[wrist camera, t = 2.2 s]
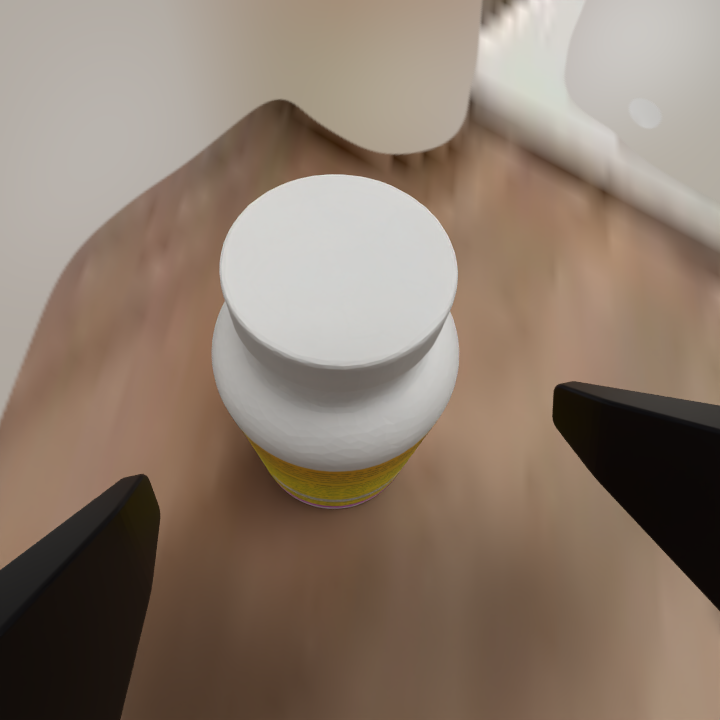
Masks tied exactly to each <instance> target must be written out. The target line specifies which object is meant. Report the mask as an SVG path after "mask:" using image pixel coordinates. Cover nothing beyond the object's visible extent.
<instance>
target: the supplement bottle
mask: <svg viewBox="0 0 720 720" xmlns="http://www.w3.org/2000/svg"><path fill="white" fill-rule="evenodd" d="M220 281H221V288H222V292H223V296H224V299H225V302H224V304H223V306H222V308H221V311H220V313H219V316H218V318H217V321H216V325H215V329H214V334H213V339H212V366H213V372H214V377H215V381H216V385H217V388H218V391H219V394H220V396H221V398H222V401H223V403H224V405H225V406H226V408H227V410H228V412H229V413H230V415H231V416H232V418H233V419H234V421H235V422H236V423H237V425H238V426H239V428H240V429H241V430H242V432H243V433H244V435H245V436H246V437H247V439H248V440H249V442H250V443H251V445H252V446H253V448H254V449H255V451H256V452H257V454H258V455H259V457H260V459H261V460H262V462H263V463H264V465H265V466H266V468H267V469H268V471H269V472H270V474H271V475H272V477H273V478H274V479H275V481H276V482H277V483H278V484H279V485H280V486H281V487H282V488H283V489H284V490H285V491H286V492H287V493H289V494H290V495H291V496H293V497H294V498H296V499H298V500H300V501H302V502H304V503H306V504H309V505H312V506H315V507H320V508H327V509H340V508H348V507H352V506H356V505H359V504H361V503H364V502H366V501H368V500H370V499H372V498H374V497H375V496H377V495H378V494H379V493H381V492H382V491H383V490H384V489H385V488H386V487H387V486H388V485H389V484H390V483H391V482H392V481H393V480H394V478H395V477H396V476H397V475H398V473H399V472H400V470H401V469H402V468H403V466H404V465H405V463H406V462H407V461H408V459H409V458H410V457H411V455H412V454H413V453H414V451H415V450H416V448H417V447H418V446H419V444H420V443H421V442H422V440H423V439H424V438H425V436H426V435H427V434H428V432H429V431H430V430H431V429H432V427H433V426H434V424H435V423H436V422H437V420H438V418H439V417H440V416H441V414H442V412H443V411H444V409H445V407H446V406H447V404H448V401H449V399H450V397H451V395H452V392H453V389H454V386H455V382H456V378H457V373H458V367H459V344H458V336H457V331H456V327H455V324H454V320H453V317H452V315H451V313H450V310H451V307H452V305H453V302H454V298H455V294H456V290H457V281H458V269H457V261H456V256H455V252H454V249H453V247H452V244H451V242H450V239H449V237H448V235H447V233H446V232H445V230H444V229H443V227H442V226H441V224H440V223H439V221H438V220H437V219H436V217H435V216H434V215H433V214H432V213H431V212H430V211H429V210H428V209H427V208H426V207H424V206H423V205H422V204H421V203H419V202H418V201H417V200H415V199H414V198H412V197H411V196H409V195H408V194H406V193H404V192H402V191H400V190H399V189H397V188H395V187H393V186H391V185H388V184H386V183H383V182H380V181H377V180H373V179H369V178H365V177H360V176H351V175H317V176H310V177H306V178H301V179H297V180H294V181H291V182H288V183H285V184H283V185H280V186H278V187H276V188H274V189H272V190H270V191H268V192H266V193H265V194H264V195H262V196H261V197H259V198H258V199H257V200H255V201H254V202H252V203H251V204H250V205H249V206H248V207H247V208H246V209H245V210H244V211H243V212H242V213H241V214H240V215H239V217H238V218H237V219H236V221H235V222H234V224H233V225H232V227H231V228H230V230H229V232H228V234H227V237H226V239H225V241H224V244H223V248H222V252H221V258H220Z"/></svg>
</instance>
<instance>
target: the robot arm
mask: <svg viewBox="0 0 720 720" xmlns="http://www.w3.org/2000/svg"><path fill="white" fill-rule="evenodd" d="M552 417H553V422H554V425H555V427H556V428H557V429H558V431H559V432H560V433H561V435H562V436H563V437H564V439H565V440H566V441H567V442H568V444H569V445H570V446H571V448H572V449H573V450H574V452H575V453H576V454H577V455H578V457H579V458H580V459H581V461H582V462H583V463H584V465H585V466H586V467H587V468H588V470H589V471H590V472H591V473H592V475H593V476H594V477H595V478H596V479H597V480H598V482H599V483H600V484H601V485H602V486H603V487H604V488H605V489H606V490H607V491H608V492H609V493H610V495H611V496H612V497H613V498H614V499H615V500H616V501H617V502H618V503H619V504H620V505H621V506H622V507H623V508H624V509H625V510H626V512H627V513H628V514H629V515H630V516H631V517H632V518H633V519H634V520H635V521H636V522H637V523H638V524H639V525H640V526H641V528H642V529H643V530H644V531H645V532H646V533H647V534H648V535H649V536H650V537H651V538H652V539H653V540H654V541H655V542H656V544H657V545H658V546H659V547H660V548H661V549H662V550H663V551H664V552H665V553H666V554H667V555H668V556H669V557H670V558H671V560H672V561H673V562H674V563H675V564H676V565H677V566H678V567H679V568H680V569H681V570H682V571H683V572H684V573H685V574H686V576H687V577H688V578H689V579H690V580H691V581H692V582H693V583H694V584H695V585H696V586H697V587H698V588H699V589H700V590H701V592H702V593H703V594H704V595H705V596H706V597H707V598H708V599H709V600H710V601H711V602H712V603H713V604H714V605H715V606H716V607H717V609H718V610H719V611H720V406H719V405H713V404H707V403H701V402H695V401H689V400H683V399H677V398H671V397H665V396H659V395H653V394H647V393H641V392H635V391H629V390H623V389H617V388H611V387H605V386H599V385H593V384H588V383H582V382H576V381H572V382H567V383H562V384H558V385H557V386H556V387H555V389H554V395H553V414H552ZM159 525H160V509H159V505H158V502H157V500H156V497H155V494H154V491H153V489H152V486H151V483H150V481H149V478H148V477H147V476H146V475H144V474H139V475H134V476H129V477H125V478H122V479H121V480H120V481H118V482H117V483H116V484H114V485H113V486H112V487H110V488H109V489H108V490H106V491H105V492H104V493H102V494H101V495H100V496H98V497H97V498H96V499H94V500H93V501H92V502H90V503H89V504H88V505H86V506H85V507H84V508H82V509H81V510H80V511H78V512H77V513H76V514H74V515H73V516H72V517H70V518H69V519H68V520H66V521H65V522H64V523H62V524H61V525H60V526H58V527H57V528H56V529H54V530H53V531H52V532H50V533H49V534H48V535H46V536H45V537H44V538H42V539H41V540H40V541H38V542H37V543H36V544H34V545H33V546H32V547H30V548H29V549H28V550H26V551H25V552H24V553H22V554H21V555H20V556H18V557H17V558H16V559H14V560H13V561H12V562H10V563H9V564H8V565H6V566H5V567H4V568H2V569H1V570H0V720H120V719H121V714H122V710H123V706H124V702H125V698H126V694H127V690H128V685H129V681H130V677H131V673H132V669H133V665H134V661H135V657H136V652H137V648H138V644H139V640H140V636H141V632H142V628H143V624H144V619H145V615H146V611H147V607H148V603H149V598H150V594H151V589H152V582H153V575H154V566H155V558H156V550H157V541H158V533H159Z"/></svg>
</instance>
